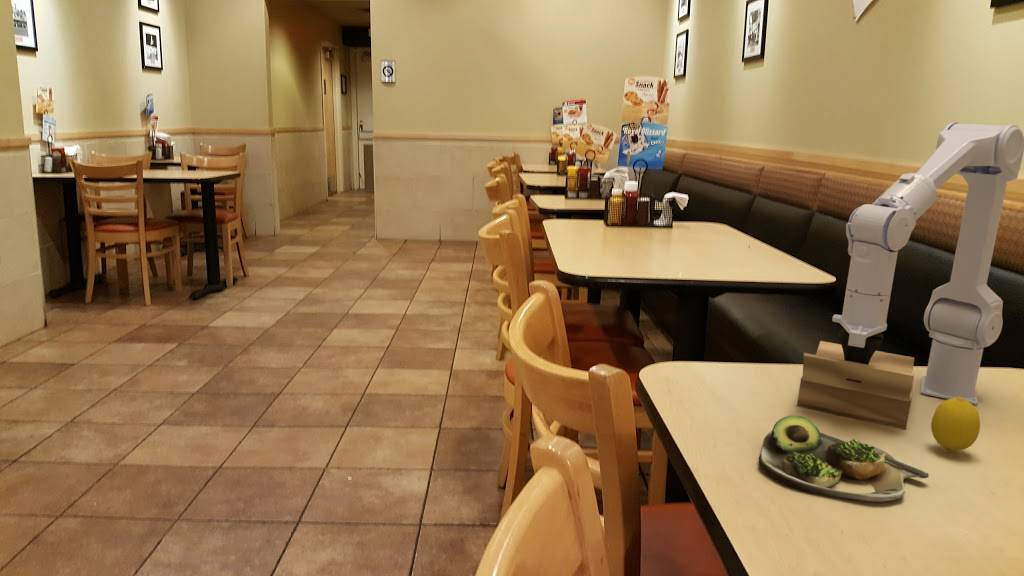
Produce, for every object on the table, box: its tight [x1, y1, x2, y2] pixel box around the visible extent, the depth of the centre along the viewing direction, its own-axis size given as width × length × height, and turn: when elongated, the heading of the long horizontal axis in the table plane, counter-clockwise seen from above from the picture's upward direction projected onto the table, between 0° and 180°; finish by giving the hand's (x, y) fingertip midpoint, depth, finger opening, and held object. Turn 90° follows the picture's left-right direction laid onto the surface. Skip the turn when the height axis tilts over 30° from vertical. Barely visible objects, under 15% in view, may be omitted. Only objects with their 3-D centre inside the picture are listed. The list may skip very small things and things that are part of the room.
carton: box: [796, 376, 914, 431], centre depth 115 cm, size 12×15×4 cm
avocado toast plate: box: [758, 415, 930, 503], centre depth 93 cm, size 19×18×5 cm
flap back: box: [815, 340, 915, 373], centre depth 122 cm, size 6×14×1 cm, turn 60°
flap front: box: [801, 352, 915, 402], centre depth 107 cm, size 6×14×1 cm
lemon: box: [930, 397, 981, 454], centre depth 99 cm, size 6×6×8 cm
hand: (853, 380), depth 108 cm, fingers closed, pressing on flap front
